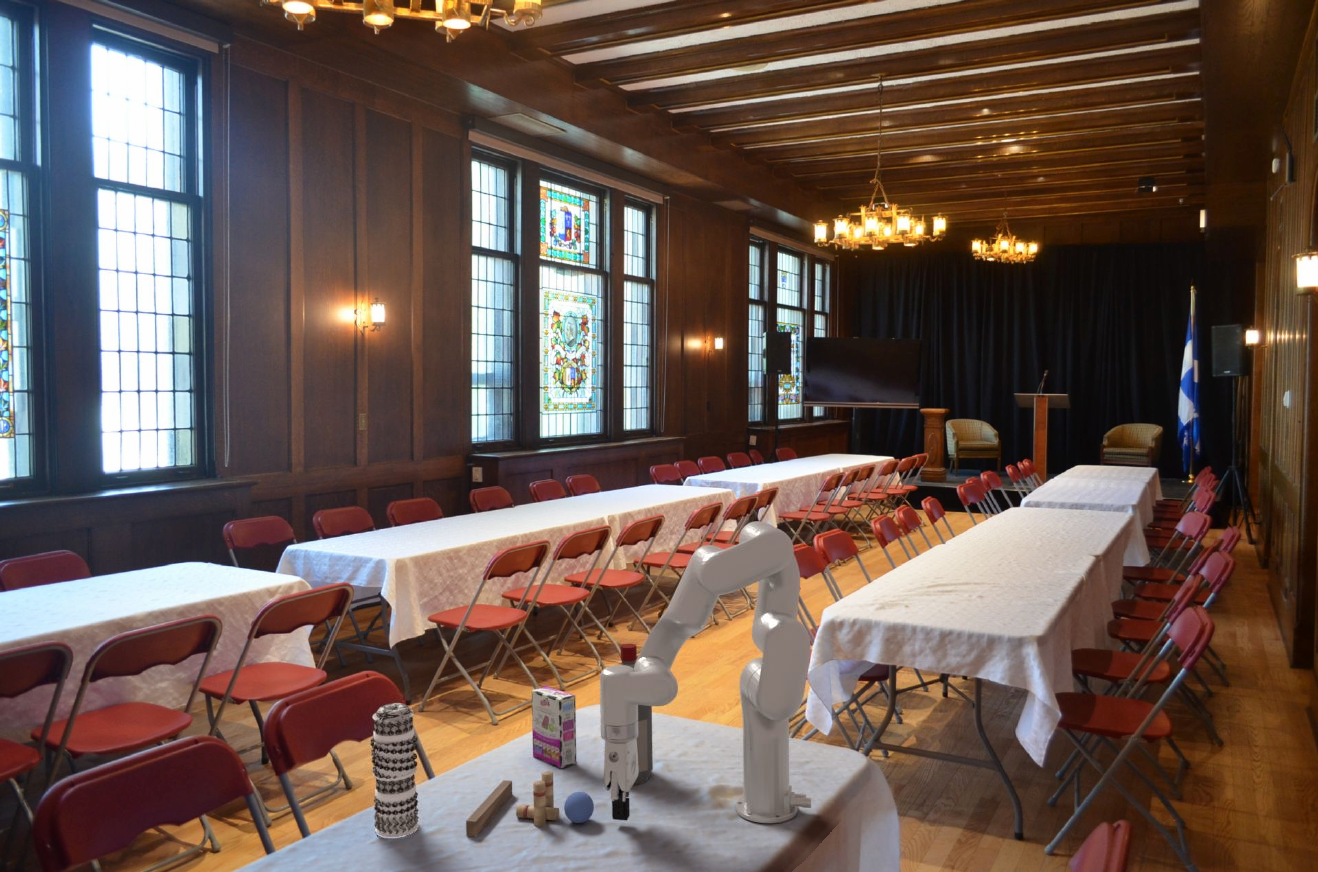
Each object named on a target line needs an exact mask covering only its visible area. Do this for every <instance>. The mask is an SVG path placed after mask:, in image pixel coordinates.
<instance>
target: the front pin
mask: <svg viewBox="0 0 1318 872" xmlns="http://www.w3.org/2000/svg"><path fill="white" fill-rule="evenodd" d="M515 815H516V818H521V819H522V818H524V819H533V820H534V805H527V804H525V805H524V804H517V806H516V810H515ZM559 818H560V808H559V807H554V808H552V807H546V821H547V820H548V821H558V820H559Z"/></svg>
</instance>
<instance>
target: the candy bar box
mask: <svg viewBox="0 0 1318 872" xmlns="http://www.w3.org/2000/svg"><path fill="white" fill-rule="evenodd" d="M576 708H577V707H576V695H575V694H572V693H569V692H566V691H562V690H560V689H558V688H557V689H556V688H553V687H550V686H549V685H547V686H542V687H539V688H535V689H532V690H531V718H532V719H531V721H532V724H531V725H532V726H531V727H532V757H533V758H535V759H537V760H538V761H542V762H544V763H547V764H549V765H551V766H553V767H554V766H555V767H556V768H559V769H565V768H567V767H571V766H574V765H575V764H577V728H576V727H577V725H576V724H577V715H576V714H577V713H576V710H577V709H576Z"/></svg>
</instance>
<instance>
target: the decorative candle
mask: <svg viewBox="0 0 1318 872" xmlns="http://www.w3.org/2000/svg"><path fill="white" fill-rule="evenodd" d="M414 715H415V711H414V710H413V709H411V708H410V707H409V706H408V705H407V704H404V703H400V702H395V703H394V702H393V703H387V704H385V705H382V706H380V707H379V708H378V709H377V711H376V712H375V713H374V714H372V719H373V721H374V723H373V725H374V726H373V729H374V730H373V735H372V736H373V737H372V738H370V746H371V748H372V749H371V763H372V764H373V767H372V775H373V777H374V778H375V789H374V795H375V796H374V799H373V802H374V803H375V804H374V807H373V810H374V811H375V812H374V815H373V818H374V820H375V821H374V827H375V830H374V832H375V831H376V832H379V833H378V834H379V835H382V836H386V837H399V836H403V835H408V834H410V833H412V832H414V831H415V830H416V829H417V828H418V829H419V818H420V817H419V816H418V814H419V811H420V810H419V809H418V803H419V800H418V795H419V793H418V792H417V784H416V780H415V779H416V777H415V776H416V775H415V774H416V773H417V770H418V768H417V767H418V762H417V761H416V760H417V758H418V754H417V753H415V751H416V750H417V749H418V747H419V745H418V744H417V743H416V742H417V741H418V736H416V735H415V727H414ZM418 829H417V830H418ZM415 832H416V831H415ZM415 832H414V833H415Z"/></svg>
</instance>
